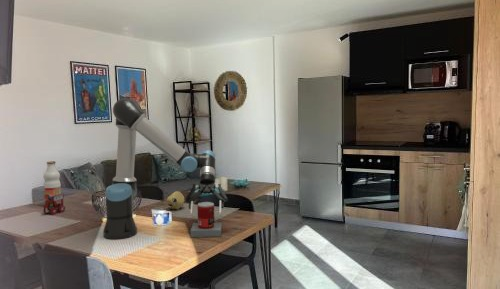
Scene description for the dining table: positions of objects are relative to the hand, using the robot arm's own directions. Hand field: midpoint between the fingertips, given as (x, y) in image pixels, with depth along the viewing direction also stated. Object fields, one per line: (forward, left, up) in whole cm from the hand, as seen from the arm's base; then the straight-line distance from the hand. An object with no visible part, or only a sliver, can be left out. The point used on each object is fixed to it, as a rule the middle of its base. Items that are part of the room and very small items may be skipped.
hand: (205, 214), depth 172 cm
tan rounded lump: (-22, +48, -10) cm, 54 cm away
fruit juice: (-101, +64, -10) cm, 120 cm away
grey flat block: (0, +2, -10) cm, 10 cm away
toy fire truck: (-92, +46, -10) cm, 103 cm away
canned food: (0, +2, -7) cm, 7 cm away
